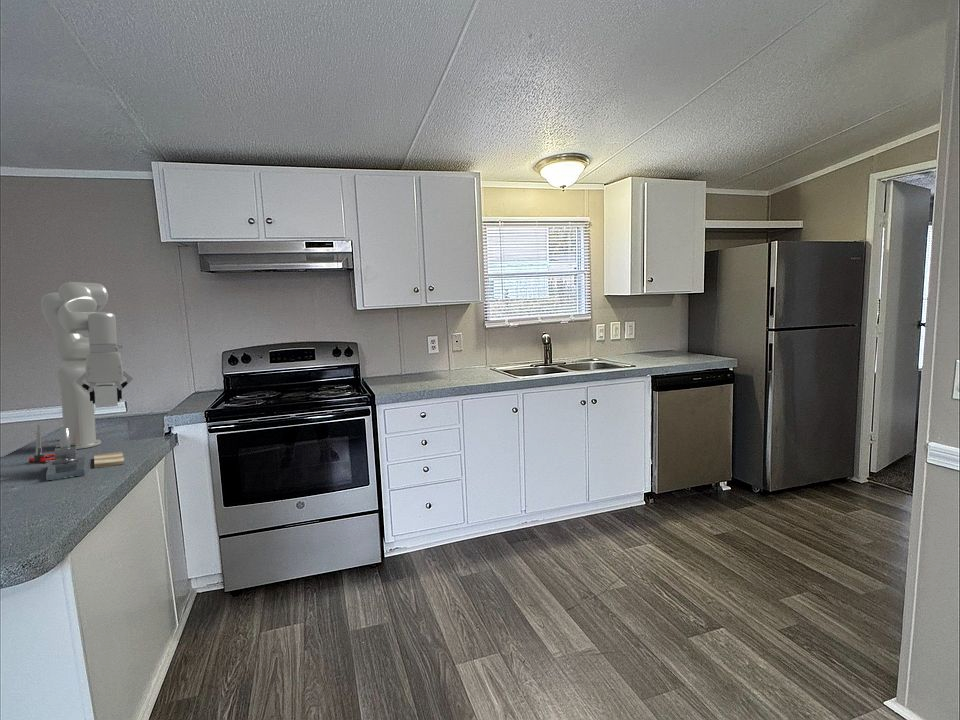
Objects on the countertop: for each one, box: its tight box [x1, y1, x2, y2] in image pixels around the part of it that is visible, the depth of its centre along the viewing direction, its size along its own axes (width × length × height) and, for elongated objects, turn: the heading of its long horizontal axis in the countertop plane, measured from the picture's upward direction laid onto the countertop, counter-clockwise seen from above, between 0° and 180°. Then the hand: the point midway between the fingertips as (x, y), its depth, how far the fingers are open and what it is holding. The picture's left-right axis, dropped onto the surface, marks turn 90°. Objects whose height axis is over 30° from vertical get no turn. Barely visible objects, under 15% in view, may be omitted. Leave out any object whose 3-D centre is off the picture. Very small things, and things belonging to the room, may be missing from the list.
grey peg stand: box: [45, 427, 86, 482], centre depth 159 cm, size 18×9×14 cm, turn 38°
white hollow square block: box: [94, 383, 119, 409], centre depth 169 cm, size 6×6×7 cm
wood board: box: [93, 451, 126, 469], centre depth 171 cm, size 14×8×1 cm, turn 38°
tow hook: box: [28, 424, 55, 463], centre depth 173 cm, size 8×13×9 cm
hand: (106, 401), depth 169 cm, fingers closed on white hollow square block, 6 cm apart
